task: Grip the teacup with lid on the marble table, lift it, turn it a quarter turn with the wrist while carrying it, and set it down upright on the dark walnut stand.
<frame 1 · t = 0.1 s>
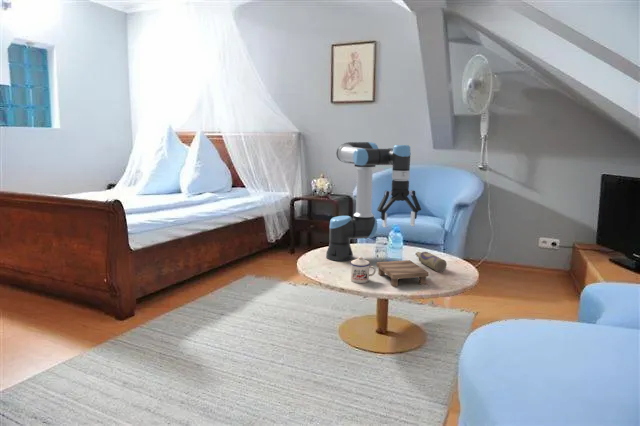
hand: (398, 226, 196), 28 cm above the table, tool pointing down, fingers open, 13 cm apart
decorative bottle: (430, 265, 232), on the table
walnut stand: (401, 279, 209), on the table
teacup with lid: (362, 280, 207), on the table
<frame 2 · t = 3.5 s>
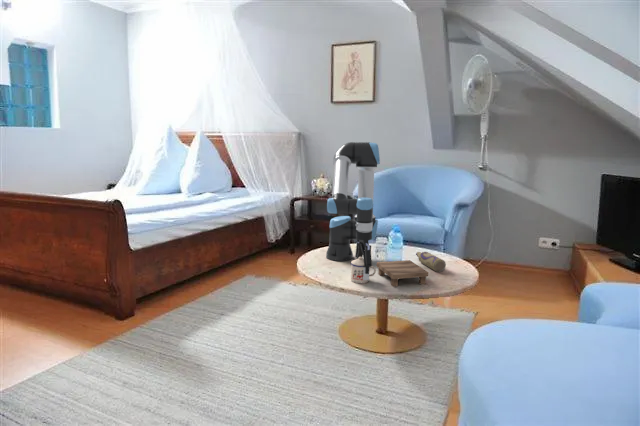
hand: (362, 276, 206), 2 cm above the table, tool pointing down, fingers closed on teacup with lid, 9 cm apart
teacup with lid: (362, 281, 206), on the table, touching gripper
everything else where it was.
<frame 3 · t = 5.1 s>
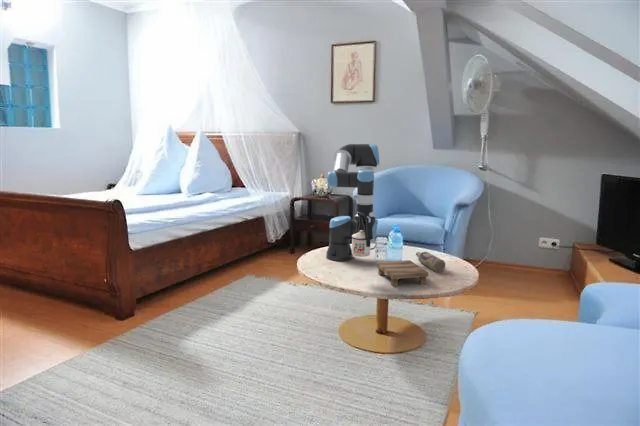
hand: (363, 250, 204), 15 cm above the table, tool pointing down, fingers closed on teacup with lid, 9 cm apart
teacup with lid: (363, 254, 204), point 13 cm above the table, touching gripper
everything else where it was.
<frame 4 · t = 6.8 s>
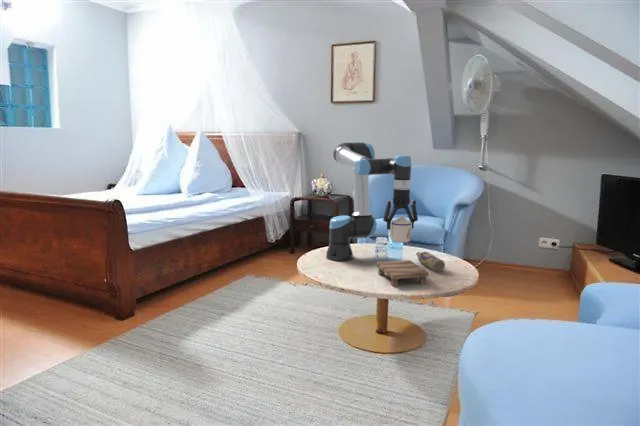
hand: (399, 235, 205), 22 cm above the table, tool pointing down, fingers closed on teacup with lid, 9 cm apart
teacup with lid: (400, 240, 205), point 20 cm above the table, touching gripper
everything else where it was.
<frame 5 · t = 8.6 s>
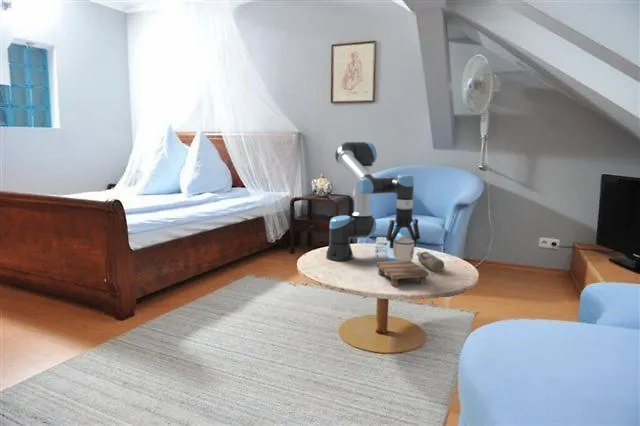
hand: (402, 254, 207), 13 cm above the table, tool pointing down, fingers closed on teacup with lid, 9 cm apart
teacup with lid: (403, 258, 207), point 10 cm above the table, touching gripper
everything else where it was.
when the fingers open (9 cm above the table, at t = 10.2 s): teacup with lid drops 1 cm, resting on walnut stand.
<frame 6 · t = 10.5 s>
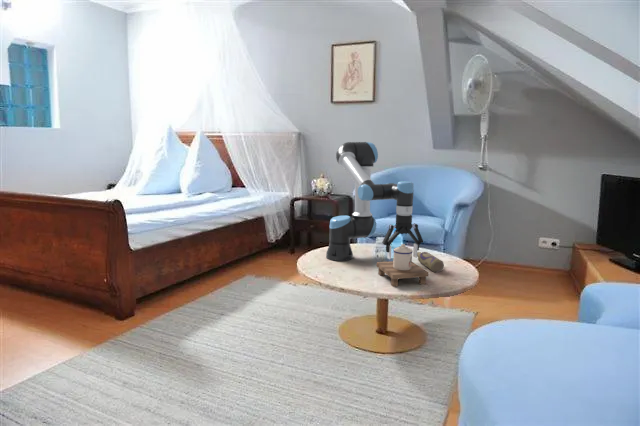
hand: (402, 257, 207), 11 cm above the table, tool pointing down, fingers open, 13 cm apart
teacup with lid: (401, 267, 208), point 6 cm above the table, touching walnut stand
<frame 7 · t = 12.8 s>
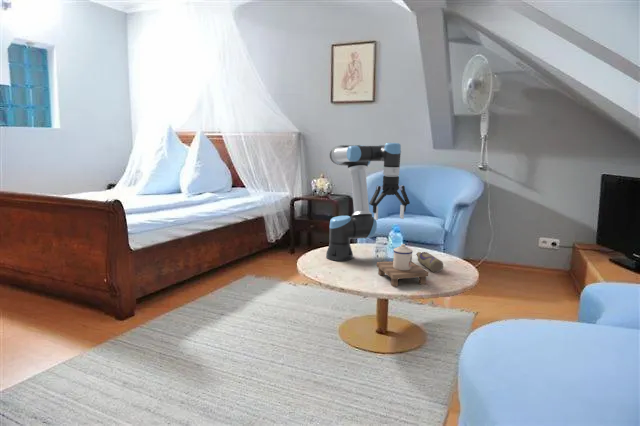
hand: (388, 218, 210), 28 cm above the table, tool pointing down, fingers open, 13 cm apart
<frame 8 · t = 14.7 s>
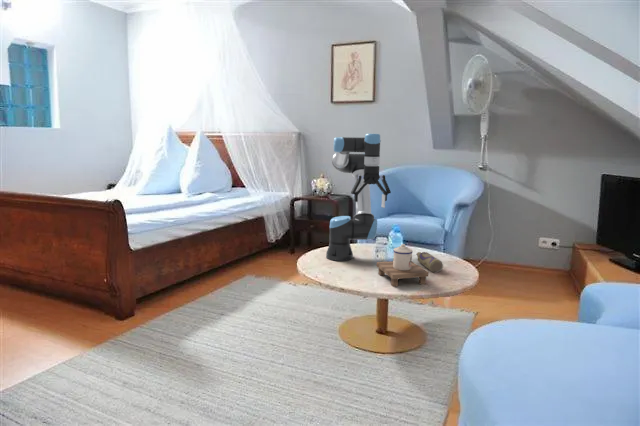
hand: (370, 207, 216), 33 cm above the table, tool pointing down, fingers open, 13 cm apart
at the end: teacup with lid inside the target area on the walnut stand (0.1 cm from its centre), point 5.8 cm above the walnut stand's base; teacup with lid tilted 0°; the gripper is holding nothing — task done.
